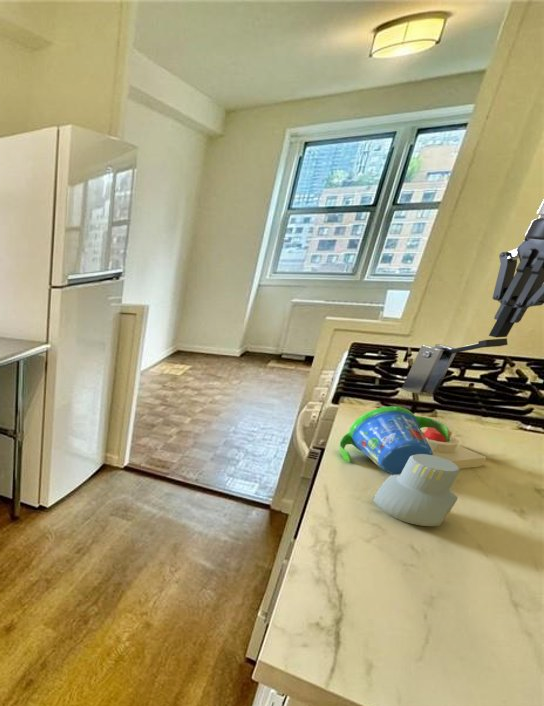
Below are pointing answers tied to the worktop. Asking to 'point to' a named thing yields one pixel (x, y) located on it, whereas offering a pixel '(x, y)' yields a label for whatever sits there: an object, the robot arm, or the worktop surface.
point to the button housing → (455, 453)
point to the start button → (434, 435)
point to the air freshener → (420, 491)
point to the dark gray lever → (475, 346)
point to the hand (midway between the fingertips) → (497, 336)
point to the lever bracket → (428, 370)
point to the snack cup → (390, 437)
